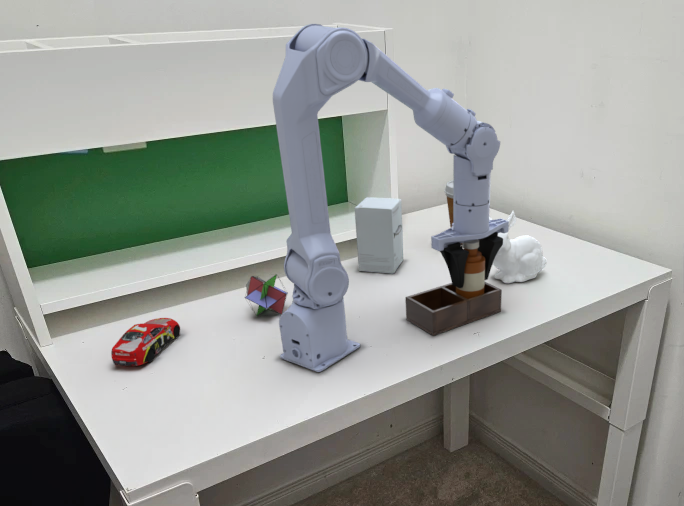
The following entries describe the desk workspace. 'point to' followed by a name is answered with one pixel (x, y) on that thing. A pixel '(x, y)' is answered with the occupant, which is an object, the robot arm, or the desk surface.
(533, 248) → the rabbit
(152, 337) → the race car
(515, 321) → the desk surface
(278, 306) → the geometric puzzle
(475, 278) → the amber bottle
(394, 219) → the white packaging box
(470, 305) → the wooden compartment tray
